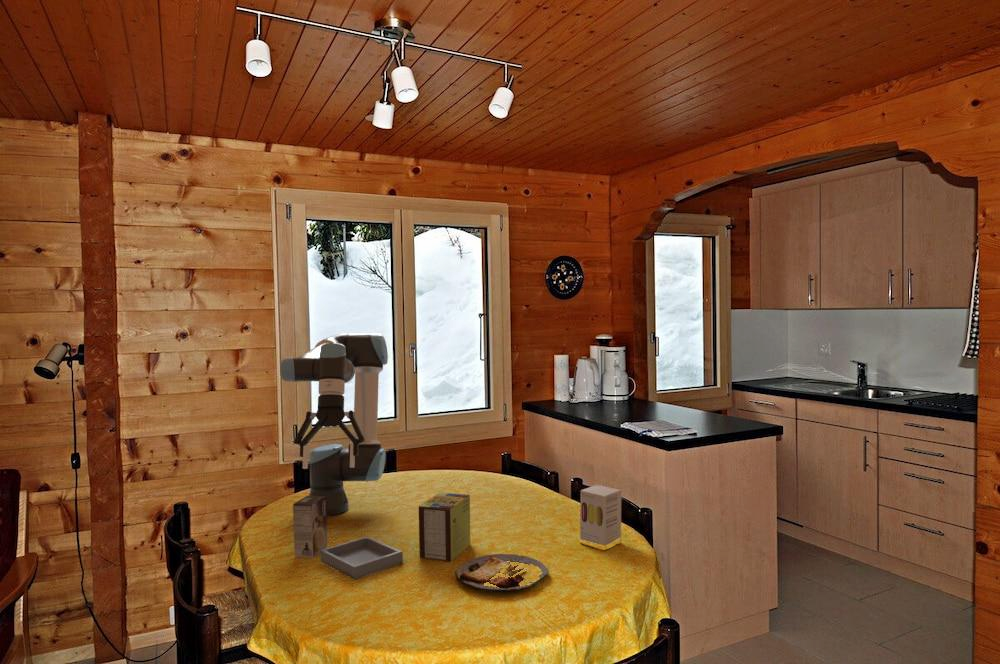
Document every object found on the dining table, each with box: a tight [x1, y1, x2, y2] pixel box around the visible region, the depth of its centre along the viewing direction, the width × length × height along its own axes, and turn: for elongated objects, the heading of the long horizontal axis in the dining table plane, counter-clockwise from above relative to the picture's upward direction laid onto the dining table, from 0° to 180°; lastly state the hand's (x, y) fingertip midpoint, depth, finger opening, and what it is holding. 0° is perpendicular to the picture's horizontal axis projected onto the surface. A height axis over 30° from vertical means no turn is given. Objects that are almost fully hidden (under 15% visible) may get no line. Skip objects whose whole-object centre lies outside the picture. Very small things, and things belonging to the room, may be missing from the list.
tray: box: [319, 535, 404, 580], centre depth 191 cm, size 16×18×4 cm
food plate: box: [454, 553, 549, 592], centre depth 180 cm, size 25×23×4 cm
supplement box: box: [579, 484, 622, 546], centre depth 204 cm, size 10×9×17 cm
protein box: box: [418, 491, 471, 562], centre depth 200 cm, size 10×15×16 cm
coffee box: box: [292, 495, 328, 559], centre depth 199 cm, size 9×6×16 cm
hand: (328, 468), depth 192 cm, fingers open, 13 cm apart
